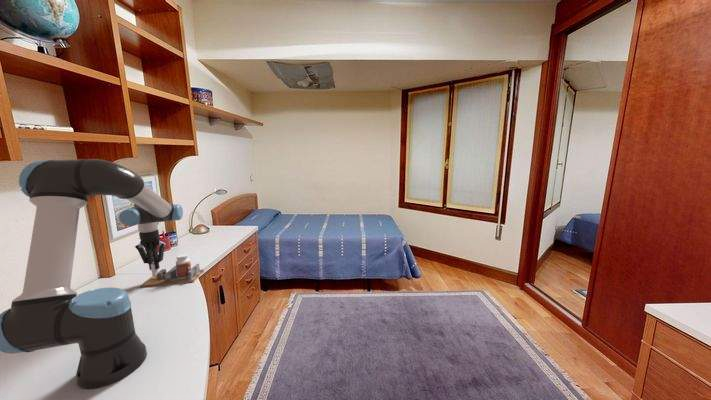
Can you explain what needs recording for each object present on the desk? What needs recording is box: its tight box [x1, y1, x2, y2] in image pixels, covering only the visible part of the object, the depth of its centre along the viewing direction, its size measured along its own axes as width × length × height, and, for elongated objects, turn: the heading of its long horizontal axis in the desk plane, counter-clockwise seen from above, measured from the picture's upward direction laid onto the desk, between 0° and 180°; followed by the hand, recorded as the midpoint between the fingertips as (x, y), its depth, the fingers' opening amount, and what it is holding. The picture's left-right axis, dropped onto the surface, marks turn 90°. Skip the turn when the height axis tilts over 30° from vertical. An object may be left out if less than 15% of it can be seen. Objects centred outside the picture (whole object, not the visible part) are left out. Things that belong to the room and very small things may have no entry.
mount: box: [139, 263, 205, 288], centre depth 132 cm, size 13×24×5 cm, turn 101°
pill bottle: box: [175, 253, 192, 278], centre depth 132 cm, size 6×6×11 cm
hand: (155, 275), depth 131 cm, fingers closed
